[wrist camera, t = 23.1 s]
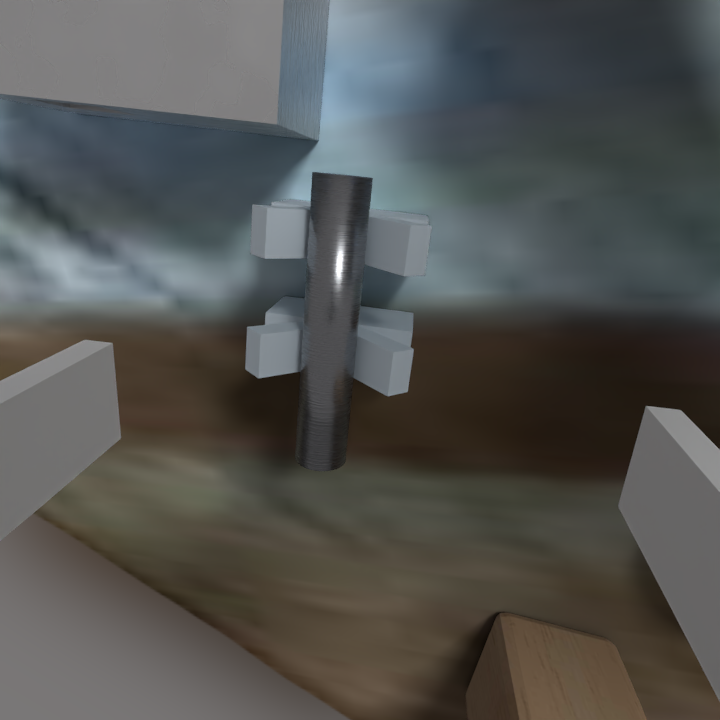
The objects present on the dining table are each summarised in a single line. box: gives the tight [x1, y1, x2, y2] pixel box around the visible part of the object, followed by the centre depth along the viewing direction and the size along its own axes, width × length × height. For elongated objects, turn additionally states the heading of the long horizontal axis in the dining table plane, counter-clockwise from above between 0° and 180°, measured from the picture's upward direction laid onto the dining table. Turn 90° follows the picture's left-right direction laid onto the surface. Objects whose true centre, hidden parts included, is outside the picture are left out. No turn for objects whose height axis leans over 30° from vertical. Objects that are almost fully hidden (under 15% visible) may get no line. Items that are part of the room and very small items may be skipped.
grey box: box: [0, 0, 330, 141], centre depth 29 cm, size 8×16×11 cm, turn 84°
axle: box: [295, 172, 373, 471], centre depth 30 cm, size 16×3×3 cm, turn 175°
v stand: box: [245, 199, 432, 396], centre depth 32 cm, size 9×9×10 cm
